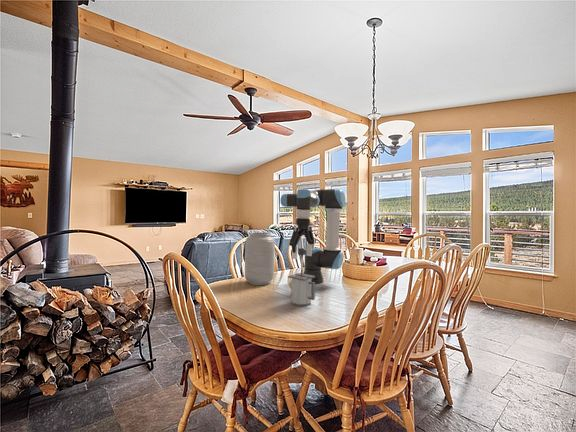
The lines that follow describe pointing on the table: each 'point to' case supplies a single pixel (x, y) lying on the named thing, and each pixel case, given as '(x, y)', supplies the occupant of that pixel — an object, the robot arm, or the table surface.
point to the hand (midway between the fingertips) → (302, 257)
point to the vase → (259, 258)
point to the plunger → (302, 257)
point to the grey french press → (302, 289)
